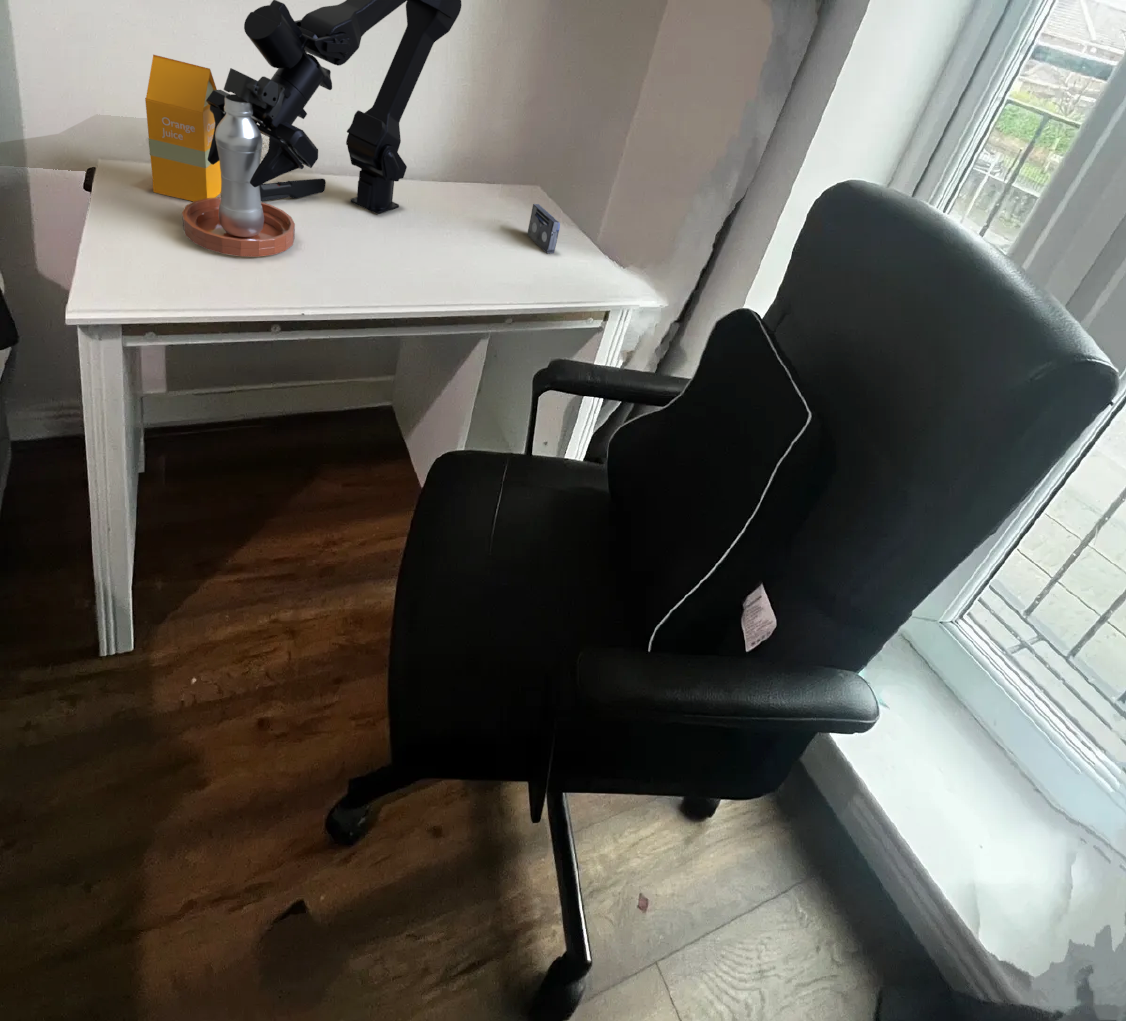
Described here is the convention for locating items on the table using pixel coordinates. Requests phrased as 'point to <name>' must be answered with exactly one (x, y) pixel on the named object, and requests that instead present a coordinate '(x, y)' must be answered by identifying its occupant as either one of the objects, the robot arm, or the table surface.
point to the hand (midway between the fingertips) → (230, 173)
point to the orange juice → (181, 130)
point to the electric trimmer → (291, 189)
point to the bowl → (209, 234)
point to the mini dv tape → (543, 229)
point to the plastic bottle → (239, 169)
